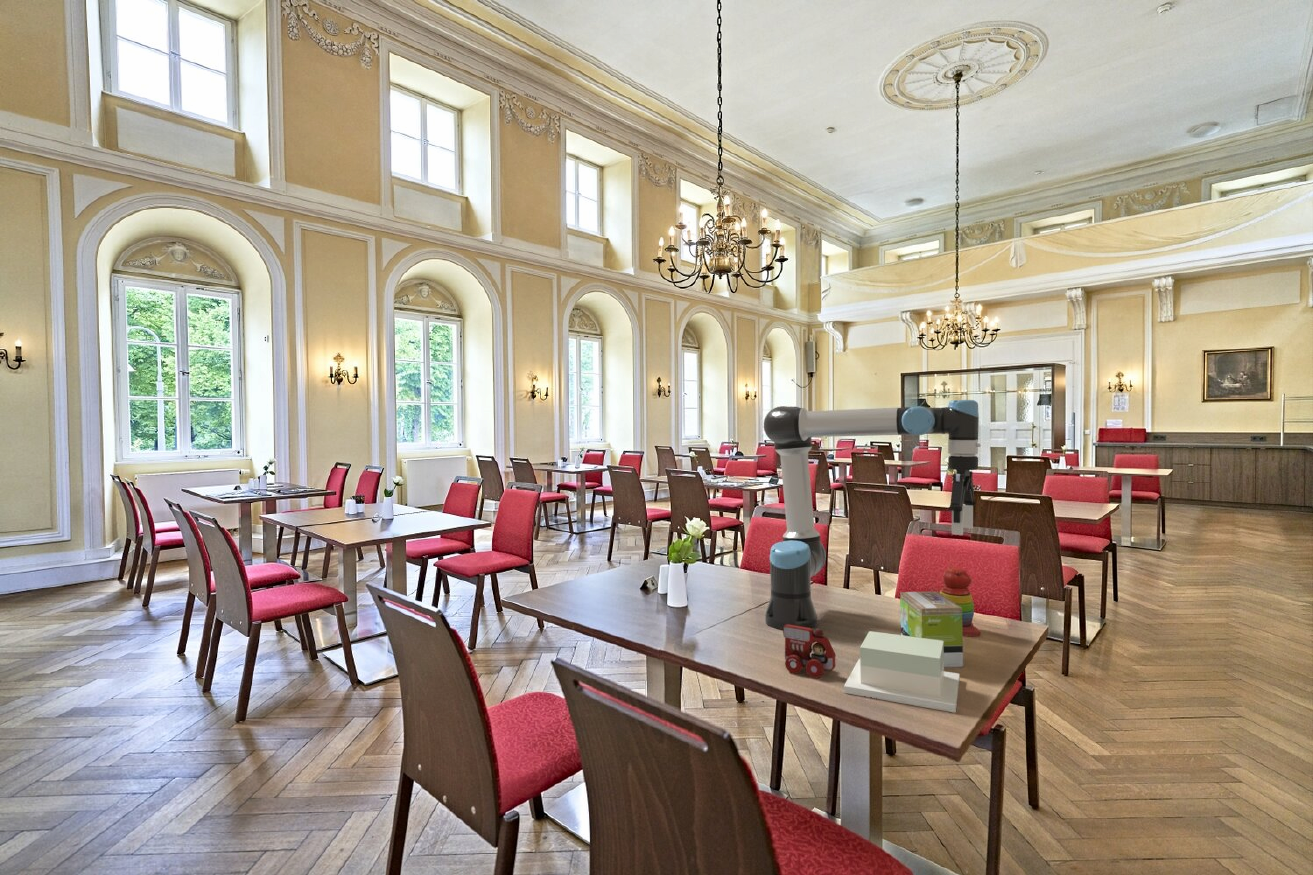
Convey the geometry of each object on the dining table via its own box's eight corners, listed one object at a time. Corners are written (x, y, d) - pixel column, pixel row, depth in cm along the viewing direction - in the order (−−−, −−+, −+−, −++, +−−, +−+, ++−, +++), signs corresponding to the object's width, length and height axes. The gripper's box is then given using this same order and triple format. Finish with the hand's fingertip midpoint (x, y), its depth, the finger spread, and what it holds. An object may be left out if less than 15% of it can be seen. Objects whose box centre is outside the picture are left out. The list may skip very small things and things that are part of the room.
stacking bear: (982, 637, 170) (981, 572, 169) (942, 635, 172) (942, 571, 171) (971, 624, 180) (970, 563, 180) (933, 623, 182) (932, 562, 182)
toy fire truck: (830, 681, 142) (829, 636, 142) (778, 670, 149) (778, 627, 149) (839, 671, 148) (838, 627, 148) (789, 661, 155) (788, 619, 155)
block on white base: (844, 692, 136) (843, 649, 136) (859, 664, 152) (858, 625, 152) (955, 712, 126) (955, 665, 125) (959, 680, 141) (958, 638, 141)
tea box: (899, 646, 164) (898, 590, 164) (938, 646, 164) (937, 590, 163) (922, 668, 149) (921, 606, 149) (964, 668, 149) (964, 606, 148)
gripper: (969, 457, 162) (968, 539, 162) (986, 453, 181) (985, 526, 182) (938, 456, 166) (937, 536, 167) (958, 453, 186) (957, 523, 186)
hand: (962, 531), depth 174 cm, fingers open, 13 cm apart
